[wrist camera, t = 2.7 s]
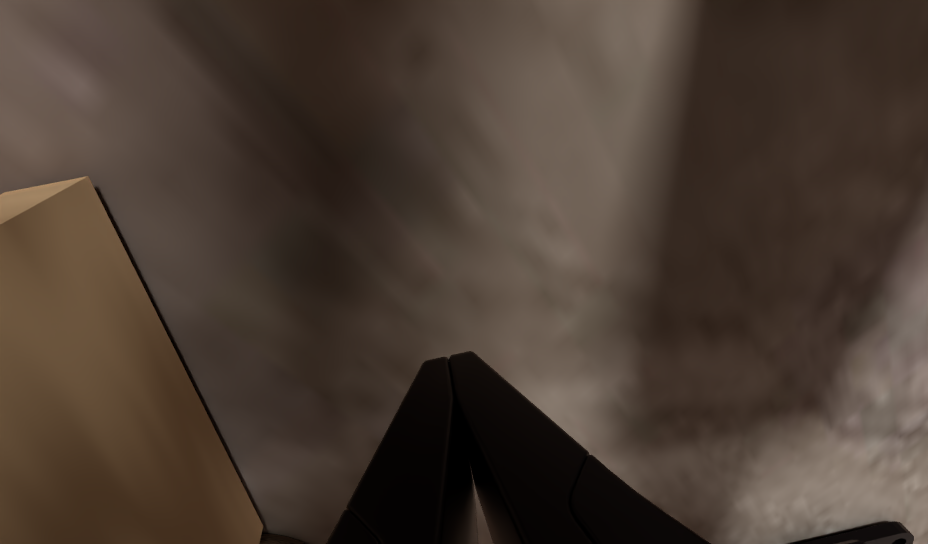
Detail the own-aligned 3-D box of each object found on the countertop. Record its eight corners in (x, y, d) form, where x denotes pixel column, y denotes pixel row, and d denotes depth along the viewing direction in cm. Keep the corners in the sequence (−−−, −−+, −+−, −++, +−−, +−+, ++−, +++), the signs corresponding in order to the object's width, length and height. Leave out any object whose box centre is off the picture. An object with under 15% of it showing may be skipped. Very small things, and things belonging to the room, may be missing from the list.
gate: (267, 534, 13) (168, 969, 7) (211, 547, 13) (64, 996, 7) (88, 176, 9) (-495, 497, 3) (4, 192, 9) (-762, 554, 3)
